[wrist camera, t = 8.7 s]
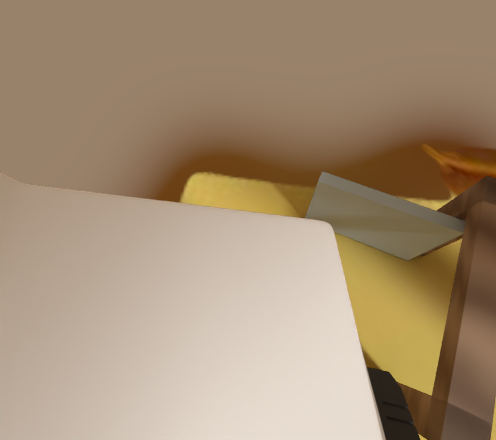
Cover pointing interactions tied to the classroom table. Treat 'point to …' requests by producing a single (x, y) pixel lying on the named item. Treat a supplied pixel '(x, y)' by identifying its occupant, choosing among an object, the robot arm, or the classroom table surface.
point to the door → (380, 218)
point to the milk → (173, 323)
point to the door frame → (465, 330)
